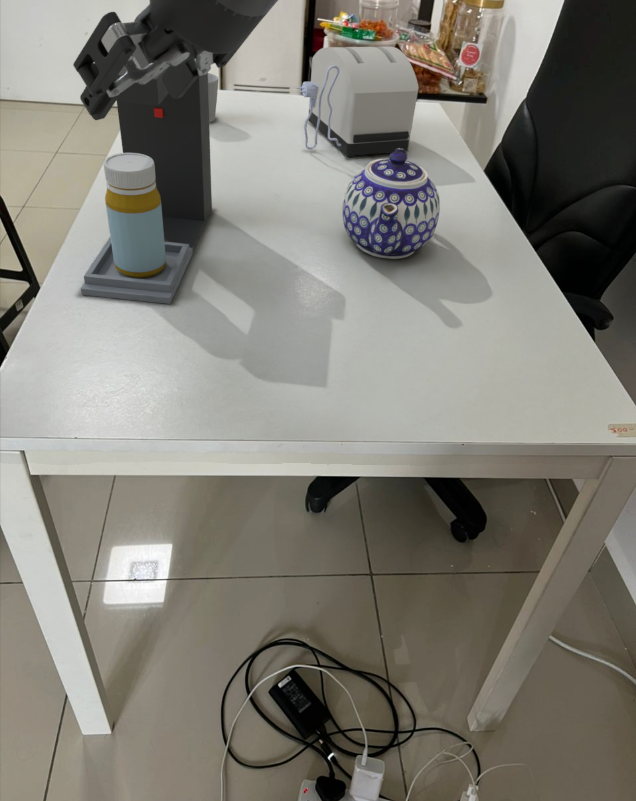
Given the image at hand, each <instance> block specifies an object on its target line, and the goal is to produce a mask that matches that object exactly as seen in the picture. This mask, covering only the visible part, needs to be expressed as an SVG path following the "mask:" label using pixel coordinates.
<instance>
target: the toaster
mask: <svg viewBox="0 0 636 801" xmlns="http://www.w3.org/2000/svg"><path fill="white" fill-rule="evenodd" d="M311 60H312V61H311V75H310V81H303V82H302V85H301V86H296V90H299V91H298V93H299V94H302V96H303V98H309V103H308V115H307V117H306V119H305V122H304V127H303V128H304V130H303V131H304V137H305V143H304V146H305V148H306V149H307V150H314V149H315V148H316V147H317V145H318V133H319V132H320V133H321V134H322V135H324V136H325V137H326V138H327V139H328V140H329V141H330V142H331V143H332V144H333V145H334V146H336V147H337V148H338V149H339V150H340V151H341V152H342V153H343V154H344V155H346V156H347V158H353V157H354V156H363V155H364V156H365V155H374V154H376V155H377V154H387V153H388V154H389V153H390V154H391V153H393V152H395V150H396V149H398V148H400V149H404V150H405V151H406V152H408V151H409V146H410V140H411V134H412V128H413V122H414V116H415V110H416V106H417V100H418V99H417V98H418V93H419V83H418V80H417V75H416V73H415V71H414V68H413V66H412V64H411V62H410V60H409V58H408V57H407V56H406V55H405V54H404V52H403V51H401V50H400V49H399V48H397V47H395V46H390V45H389V46H344V47H341V46H328V47H322V48H320V49H319V50H317V51H316V52H315V54H314V55H313V57H312V58H311ZM308 122H309V123H310V124H312V126H314V128H315V133H314V134H315V135H314V144H313V146H308V142H309V137H308V130H307V127H308V126H307V125H308Z"/></svg>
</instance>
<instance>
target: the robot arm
mask: <svg viewBox="0 0 636 801" xmlns="http://www.w3.org/2000/svg"><path fill="white" fill-rule="evenodd" d="M278 2H279V0H150V3H149V4H148V5H147V6H146V7H145V8H144V9H143V10H141V12H140V13H139V14H137V16H136V17H135V18H134V20H133V21H130V22H122V20H121V18H120V17H119V16H118V13H117V12H115V11H110V12H107V13H106V14H104V15H102V17H101V18H100V20H99V22H98V23H97V25H96V26H95V28H94V30H93V31H92V33H91V35H90V36H89V38H88V39H87V41H86V42H85V44H84V46H83V48H82V49H81V51H80V52H79V54H78V55H77V57H76V59H75V60H74V62H73V65H72V66H73V68H74V69H75V71H76V72H77V73H78V75H79V76H80V78H81V80H82V81H83V84H84V85H85V87H84V89H83V91H82V92H81V94H80V96H79V97H80V98H79V99H80V101H81V103H82V104H83V106H84V108H85V109H86V111H87V113H88V114H89V116H91V117H92V118H91V119H93V120H94V121H98V120H103V119H105V118H106V116H108V114H109V112H110V111H111V109H112V108H113V107H114V105H115V104H116V103H117V101H116V100H117V99H118V97H119V96H120V93H122V92H123V91H124V90H126V89H127V88H128V87H130V86H131V85H133V84H134V83H136V82H137V83H139V84H142V85H144V84H146V83H147V82H149V81H150V80H152V79H153V78H154V77H156V76H157V75H159V74H160V73H161V72H163V71H164V70H165V69H167V68H168V69H167V70H166V71H165V73H164V74H163V76H162V82H163V84H164V85H165V87H166V89H167V91H168V92H169V94H170V96H171V97H172V98H173V99H178V98H181V97H182V96H183V95H184V94H185V93H186V91H187V90H188V89H189V88H190V86H191V85H192V84H193V83H194V81H195V80H196V79H197V78H198V76H202V75H205V74H207V73H209V72H210V71H211V69H212V65H214V64H215V65H216V67H217V68H223V67H225V66H226V65H227V64H228V63H229V62H230V61H231V59H232V58H233V57H234V56H235V54H236V53H237V52H238V51H239V49H240V48H241V47H242V45H243V44H244V43H245V42H246V40H247V39H248V38H249V37H250V36H251V34H252V32H254V30H255V29H256V28H257V26H258V25H259V24H260V23H261V22H262V20H263V19H265V17H266V15H267V14H268V13H269V12H270V11H271V10H272V8H273V7H274V6H275V5H276V4H277V3H278ZM137 43H138V46H139V48H140V50H141V52H142V54H143V55H144V57H145V59H146V60H147V62H148V63H149V65H148V66H146V67H145V68H143V69H141V67H140V65H139V64H138V62H137V60H136V59H135V57H134V55H133V53H134V51H135V50H136V46H135V45H136V44H137ZM124 65H125V67H126V69H127V72H126V74H124V75H123V76H122V77H120V78H119V79H118V80H117V78H116V77H117V75H118V74H119V72H120V71H121V70H122V68H123V67H124Z"/></svg>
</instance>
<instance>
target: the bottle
mask: <svg viewBox="0 0 636 801" xmlns="http://www.w3.org/2000/svg"><path fill="white" fill-rule="evenodd" d="M103 170H104V177H105V181H106V192H105V197H104V201H105V208H106V209H105V210H106V216H107V223H108V230H109V238H110V237H111V244H112V251H113V258H114V263H115V267H116V269H117V270H118V271H119V272H121V273H122V274H123V275H125V276H127V277H131V278H149V277H152V276H155V275H157V274H158V273H160V272H161V271H162V269H163V268H164V267H165V265H166V255H165V243H164V231H163V219H162V207H161V198H160V194H159V192H158V190H157V188H156V181H155V178H156V177H155V165H154V161H153V159H152V158H150V157H149V156H146V155H143V154H139V153H123V152H121V153H120V152H119V153H115V154H111V155H109V156H107V157H106V158H105V159H104V161H103Z"/></svg>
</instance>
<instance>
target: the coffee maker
mask: <svg viewBox="0 0 636 801" xmlns="http://www.w3.org/2000/svg"><path fill="white" fill-rule="evenodd" d="M135 46H136V50H135V51H134V53H133V55H134V57H135V59H136V60H137V62H138V64H139V65H140V67H141V69H143V68H145V67H146V66H148V65H149V63H148V62H147V60H146V59H145V57H144V55H143V54H142V52H141V50H140V48H139V46H138V43H137V44H136V45H135ZM167 69H168V68H167ZM167 69H165V70H164V71H163V72H161V73H160V74H159V75H157V76H156V77H154V78H153V79H152V80H150V81H149V82H147V83H146V84H144V85H142V84H139V83H137V82H136V83H134V84H133V85H131V86H130V87H128V88H127V89H126V90H124V91H123V92H122V93H120V96H119V97H118V99H117V100H116V108H117V116H118V124H119V131H120V140H121V148H122V149H121V150H122V153H139V154H143V155H146V156H149V157H150V158H152V159H153V161H154V165H155V177H156V178H155V181H156V188H157V190H158V192H159V194H160V198H161V207H162V219H163V231H164V243H165V255H166V265H165V267H164V268H163V269H162V271H161V272H160V273H158V274H157V275H155V276H152V277H149V278H131V277H127V276H125V275H123V274H122V273H121V272H119V271H118V270H117V269H116V267H115V263H114V258H113V251H112V244H111V237H110V236H109V237H108V239H107V241H106V242H105V244H104V245H103V247H102V248H101V249H100V250H99V252H98V254H97V255H96V257H95V258H94V259H93V261H92V263H91V264H90V266H89V267H88V269H87V270H86V272H85V273H84V275H83V280H84V281H83V284H82V285H81V287H80V293H81V295H82V296H90V297H101V298H108V299H109V298H110V299H118V300H119V299H120V300H129V301H136V302H137V301H138V302H147V303H156V304H157V303H158V304H165V305H166V304H167V305H171V304H172V302H173V299H174V298H175V295H176V293H177V291H178V288H179V286H180V283H181V282H182V279H183V277H184V274H185V273H186V270H187V268H188V265H189V264H190V261H191V259H192V256H193V254H194V251H195V250H196V248H197V245H198V243H199V241H200V238H201V236H202V234H203V231H204V229H205V228H206V225H207V222H208V221H209V218H210V216H211V214H212V211H213V199H212V170H211V164H212V163H211V136H210V134H211V133H210V131H211V130H210V123H209V99H208V73H209V72H208V73H207V74H205V75H202V76H198V78H197V79H196V80H195V81H194V83H193V84H192V85H191V86H190V88H189V89H188V90H187V91H186V93H185V94H184V95H183V96H182V97H181V98H178V99H173V98H172V97H171V96H170V94H169V92H168V91H167V89H166V87H165V85H164V84H163V82H162V76H163V74H164V73H165V71H166V70H167ZM126 72H127V69H126V67H125V65H124V67H123V68H122V70H121V71H120V72H119V74H118V75H117V77H116V78H117V80H118V79H119V78H120V77H122V76H123V75H124V74H126Z"/></svg>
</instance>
